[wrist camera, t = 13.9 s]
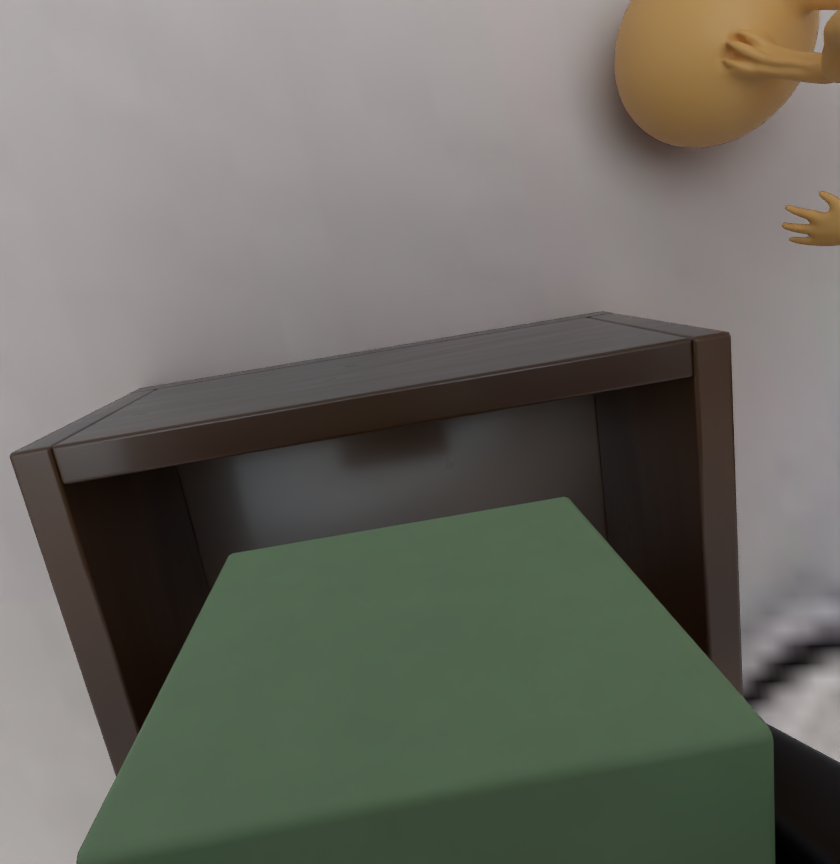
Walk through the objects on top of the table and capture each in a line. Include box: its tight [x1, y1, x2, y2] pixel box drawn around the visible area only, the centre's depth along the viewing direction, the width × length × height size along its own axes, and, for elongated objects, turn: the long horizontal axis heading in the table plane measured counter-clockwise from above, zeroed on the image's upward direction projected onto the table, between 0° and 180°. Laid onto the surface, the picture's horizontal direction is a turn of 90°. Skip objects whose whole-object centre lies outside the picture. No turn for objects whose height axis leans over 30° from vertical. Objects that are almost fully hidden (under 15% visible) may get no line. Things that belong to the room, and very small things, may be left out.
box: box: [10, 311, 743, 777], centre depth 15 cm, size 10×12×6 cm
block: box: [77, 497, 775, 864], centre depth 7 cm, size 4×4×4 cm
